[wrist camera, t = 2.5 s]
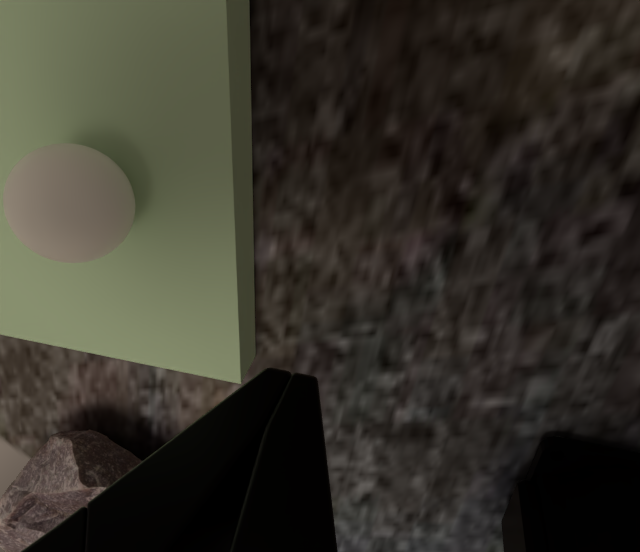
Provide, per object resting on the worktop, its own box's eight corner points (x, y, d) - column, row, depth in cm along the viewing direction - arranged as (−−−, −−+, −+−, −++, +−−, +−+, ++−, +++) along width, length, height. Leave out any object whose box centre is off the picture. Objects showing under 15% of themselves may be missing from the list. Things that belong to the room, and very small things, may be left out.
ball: (149, 136, 14) (76, 174, 11) (162, 239, 16) (101, 294, 13) (46, 123, 14) (-47, 157, 12) (69, 224, 16) (-7, 274, 13)
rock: (6, 491, 28) (-63, 576, 24) (86, 390, 22) (12, 479, 18) (130, 566, 29) (84, 656, 26) (235, 489, 24) (196, 591, 20)
